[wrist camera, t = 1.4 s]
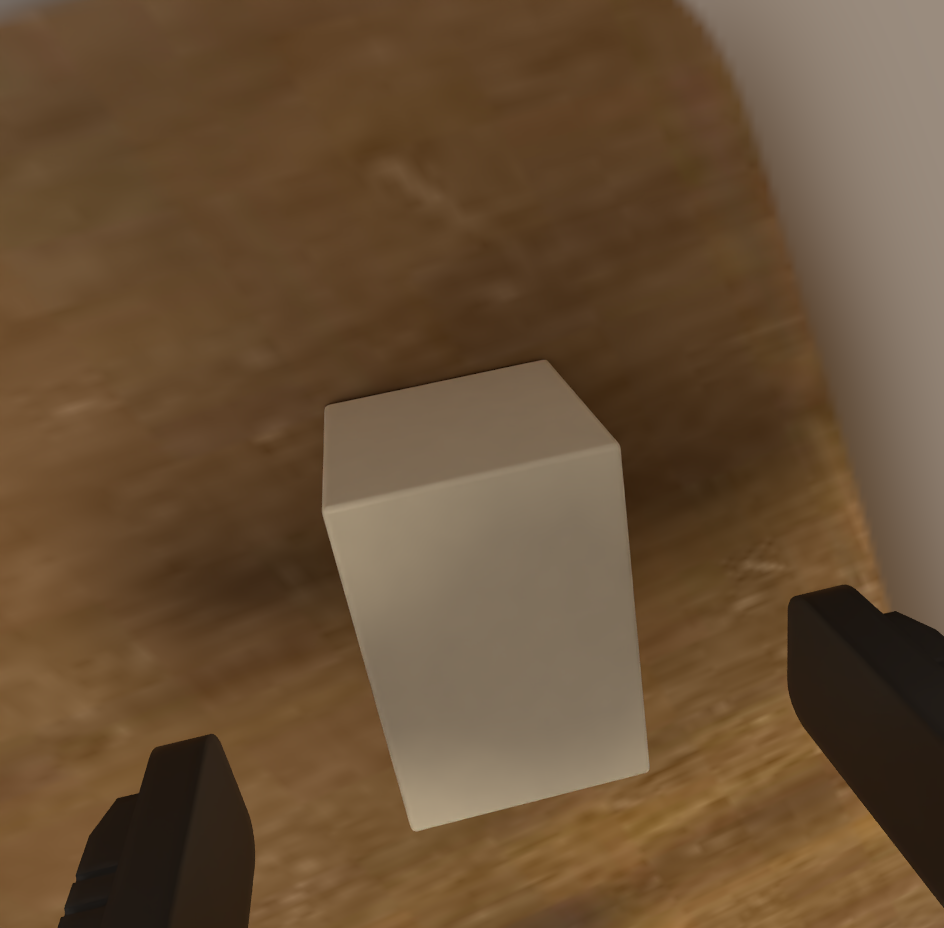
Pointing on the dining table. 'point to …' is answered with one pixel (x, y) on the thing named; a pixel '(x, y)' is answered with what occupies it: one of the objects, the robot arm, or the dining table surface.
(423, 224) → the dining table surface
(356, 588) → the tea packet
